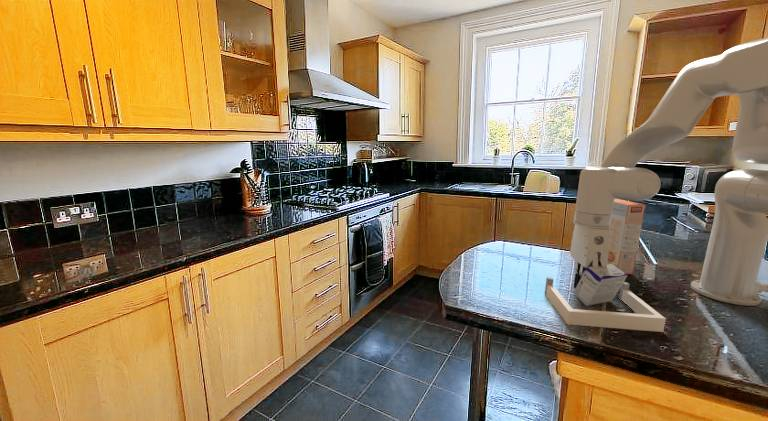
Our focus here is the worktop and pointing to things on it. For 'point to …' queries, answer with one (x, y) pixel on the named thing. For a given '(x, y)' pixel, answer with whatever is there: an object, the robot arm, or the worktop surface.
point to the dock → (641, 320)
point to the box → (599, 284)
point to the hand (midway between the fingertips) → (581, 289)
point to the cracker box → (625, 234)
